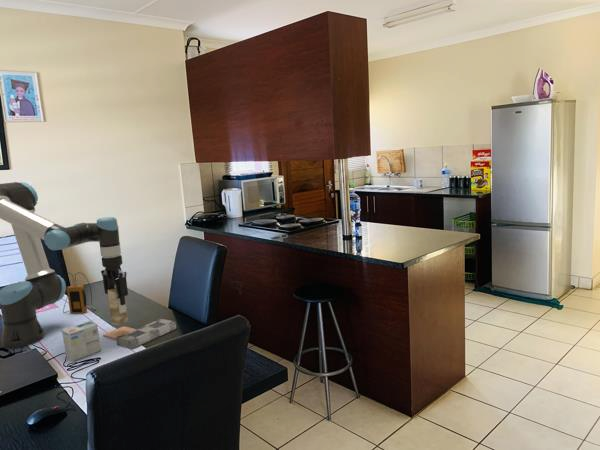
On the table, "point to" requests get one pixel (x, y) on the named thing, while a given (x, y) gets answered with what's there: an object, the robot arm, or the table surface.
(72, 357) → the light bulb box
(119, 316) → the peg
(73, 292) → the multimeter
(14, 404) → the table surface
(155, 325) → the rail
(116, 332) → the pad
